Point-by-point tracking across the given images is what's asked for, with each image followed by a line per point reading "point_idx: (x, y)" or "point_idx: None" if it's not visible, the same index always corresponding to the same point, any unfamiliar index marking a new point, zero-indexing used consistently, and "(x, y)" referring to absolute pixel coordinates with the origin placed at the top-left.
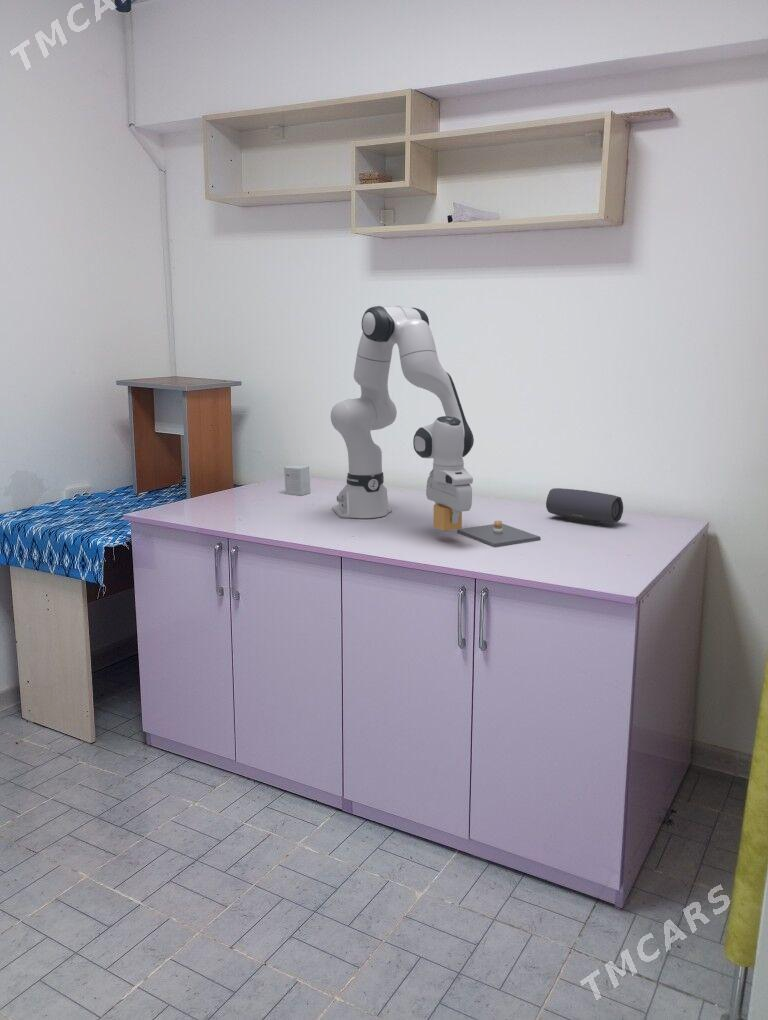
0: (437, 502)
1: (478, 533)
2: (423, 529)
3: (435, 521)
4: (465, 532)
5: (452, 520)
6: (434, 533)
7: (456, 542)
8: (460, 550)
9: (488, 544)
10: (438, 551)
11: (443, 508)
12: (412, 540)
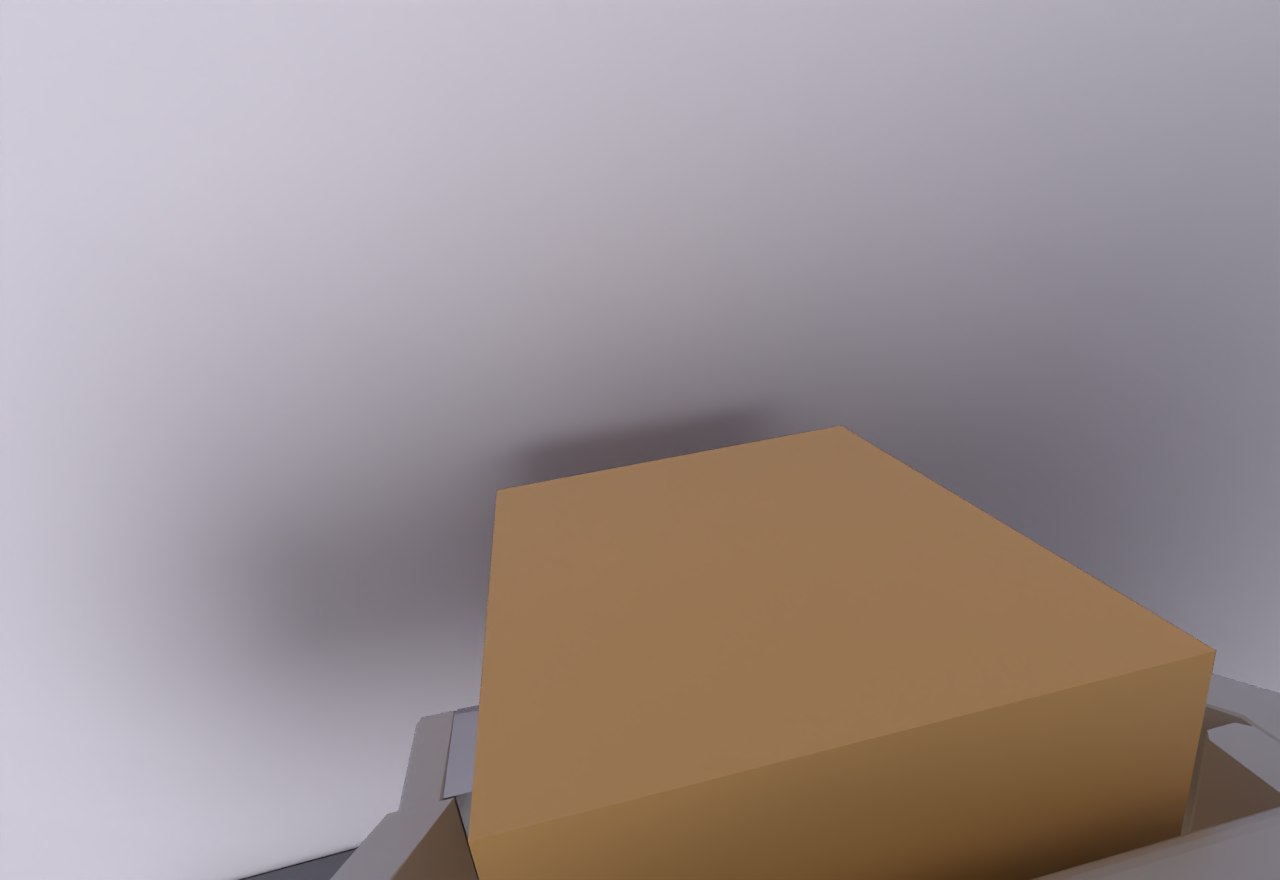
0: (1262, 827)
1: None
2: (1187, 422)
3: (820, 472)
4: None
5: (424, 753)
6: (988, 479)
7: None
8: (80, 520)
9: (285, 871)
10: (77, 201)
11: (544, 835)
12: (829, 85)
